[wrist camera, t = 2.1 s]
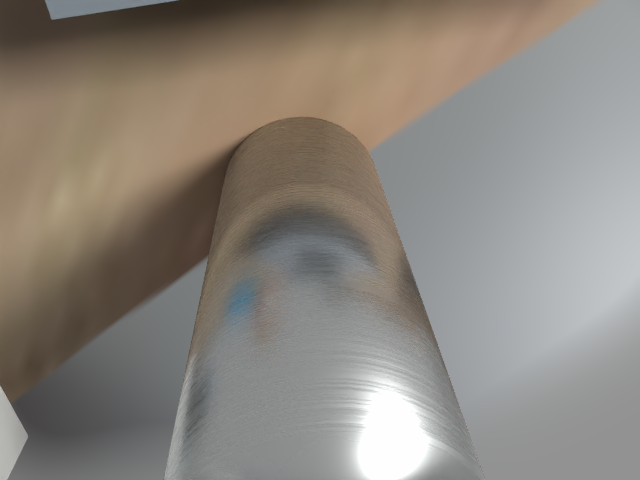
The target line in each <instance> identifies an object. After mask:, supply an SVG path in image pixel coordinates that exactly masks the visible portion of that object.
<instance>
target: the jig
mask: <svg viewBox="0 0 640 480" xmlns="http://www.w3.org/2000/svg"><path fill="white" fill-rule="evenodd" d="M170 1H177V0H45V2H46V5H47V7H48V10H49V13H50V16H51V19H52V20H54V19H61V18H67V17H74V16H80V15H86V14H93V13H99V12H106V11H112V10H119V9H125V8H132V7H138V6H145V5H151V4H157V3H164V2H170Z"/></svg>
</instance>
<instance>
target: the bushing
mask: <svg viewBox="0 0 640 480" xmlns="http://www.w3.org/2000/svg"><path fill="white" fill-rule="evenodd" d="M163 480H485V477H484V474H483V472H482V469H481V466H480V463H479V460H478V457H477V455H476V452H475V449H474V446H473V443H472V440H471V438H470V435H469V432H468V429H467V426H466V423H465V421H464V418H463V415H462V412H461V409H460V407H459V403H458V401H457V398H456V395H455V392H454V389H453V386H452V384H451V381H450V378H449V375H448V372H447V370H446V367H445V364H444V361H443V358H442V355H441V353H440V349H439V347H438V344H437V341H436V338H435V335H434V332H433V330H432V327H431V324H430V321H429V318H428V315H427V313H426V310H425V307H424V304H423V301H422V299H421V296H420V293H419V290H418V287H417V284H416V281H415V279H414V276H413V273H412V270H411V267H410V264H409V261H408V259H407V256H406V253H405V250H404V247H403V244H402V242H401V239H400V236H399V233H398V230H397V227H396V225H395V222H394V219H393V216H392V213H391V210H390V207H389V205H388V202H387V199H386V196H385V194H384V190H383V188H382V185H381V182H380V179H379V176H378V173H377V171H376V168H375V165H374V162H373V160H372V158H371V156H370V154H369V152H368V151H367V149H366V148H365V147H364V145H363V144H362V143H361V142H360V141H359V140H358V139H357V138H356V137H355V136H354V135H353V134H351V133H350V132H349V131H347V130H346V129H344V128H342V127H341V126H339V125H336V124H334V123H332V122H329V121H326V120H322V119H317V118H311V117H294V118H286V119H282V120H278V121H275V122H272V123H269V124H267V125H265V126H263V127H261V128H259V129H258V130H256V131H255V132H254V133H252V134H251V135H250V136H248V137H247V138H246V139H245V140H244V141H243V142H242V143H241V144H240V146H239V147H238V148H237V149H236V151H235V153H234V154H233V156H232V157H231V160H230V162H229V164H228V167H227V170H226V174H225V178H224V183H223V188H222V193H221V198H220V203H219V208H218V213H217V218H216V223H215V228H214V233H213V238H212V243H211V248H210V252H209V257H208V262H207V267H206V272H205V277H204V282H203V287H202V292H201V297H200V302H199V307H198V312H197V317H196V321H195V326H194V331H193V337H192V341H191V347H190V351H189V356H188V361H187V366H186V371H185V376H184V381H183V386H182V391H181V396H180V400H179V405H178V410H177V416H176V420H175V426H174V430H173V435H172V440H171V445H170V450H169V455H168V460H167V464H166V469H165V474H164V479H163Z"/></svg>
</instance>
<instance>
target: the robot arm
mask: <svg viewBox="0 0 640 480" xmlns="http://www.w3.org/2000/svg"><path fill="white" fill-rule="evenodd" d="M27 438H28V435H27V433H26V431H25V429H24V428H23V426H22V424H21V422H20V420H19V419H18V417H17V415H16V413H15V411H14V410H13V408H12V406H11V404H10V402H9V401H8V399H7V397H6V395H5V393H4V392H3V390H2V388H1V386H0V480H7V479H8V477H9V475H10V473H11V471H12V469H13V467H14V465H15V463H16V461H17V459H18V457H19V455H20V453H21V451H22V449H23V447H24V444H25V442H26V441H27Z"/></svg>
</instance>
